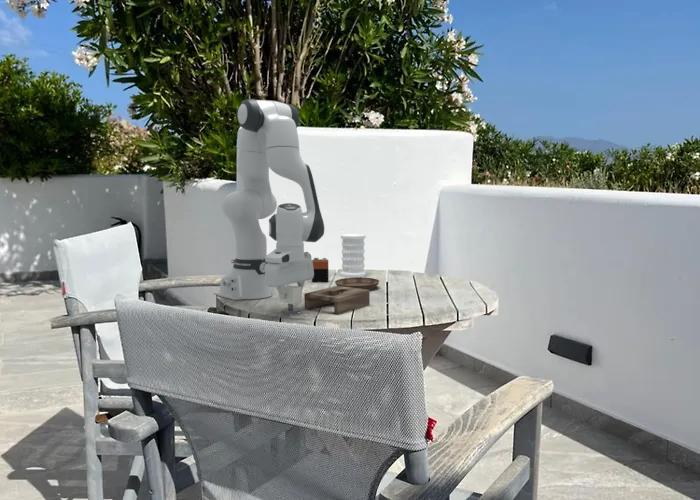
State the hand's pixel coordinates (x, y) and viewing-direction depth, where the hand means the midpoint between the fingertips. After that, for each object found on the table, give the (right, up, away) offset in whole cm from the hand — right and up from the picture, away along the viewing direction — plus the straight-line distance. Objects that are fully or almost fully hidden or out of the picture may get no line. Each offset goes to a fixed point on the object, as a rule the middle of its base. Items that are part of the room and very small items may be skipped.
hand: (290, 297), depth 199 cm
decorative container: (+20, +4, +75) cm, 78 cm away
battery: (+7, +2, +59) cm, 60 cm away
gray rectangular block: (0, -5, +1) cm, 5 cm away
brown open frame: (+15, -4, +9) cm, 18 cm away
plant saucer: (+22, 0, +45) cm, 50 cm away
